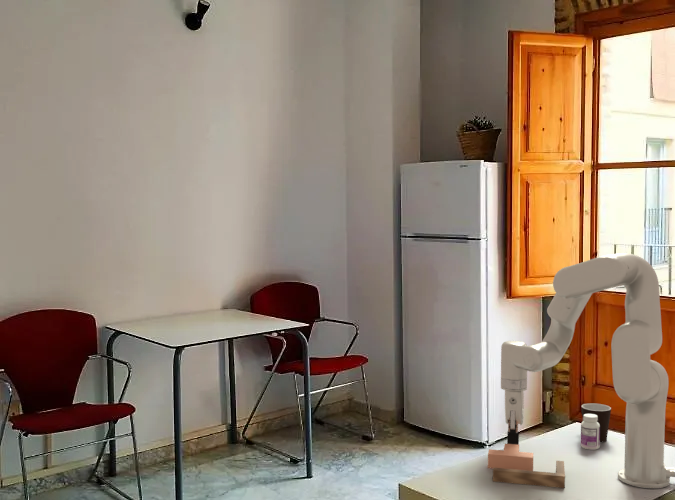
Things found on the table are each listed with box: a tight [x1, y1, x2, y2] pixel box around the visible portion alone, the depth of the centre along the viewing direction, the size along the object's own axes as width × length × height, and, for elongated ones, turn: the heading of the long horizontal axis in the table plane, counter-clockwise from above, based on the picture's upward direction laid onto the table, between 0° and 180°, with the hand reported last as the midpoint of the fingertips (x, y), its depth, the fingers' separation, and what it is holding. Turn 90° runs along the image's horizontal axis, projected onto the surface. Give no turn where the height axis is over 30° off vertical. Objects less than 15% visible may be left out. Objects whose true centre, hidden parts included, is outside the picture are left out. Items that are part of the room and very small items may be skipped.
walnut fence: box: [492, 460, 566, 489], centre depth 203 cm, size 18×12×3 cm, turn 75°
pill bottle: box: [580, 414, 601, 451], centre depth 228 cm, size 5×5×10 cm
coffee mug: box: [580, 403, 612, 443], centre depth 237 cm, size 12×9×10 cm
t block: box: [487, 443, 534, 471], centre depth 213 cm, size 12×10×4 cm
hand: (512, 444), depth 226 cm, fingers closed
